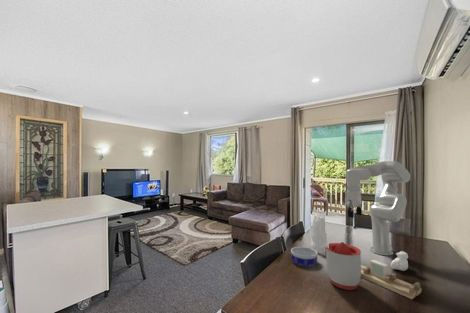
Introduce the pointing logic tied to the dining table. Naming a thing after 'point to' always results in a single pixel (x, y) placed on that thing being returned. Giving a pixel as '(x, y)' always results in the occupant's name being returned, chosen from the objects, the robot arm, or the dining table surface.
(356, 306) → the dining table surface
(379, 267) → the frame block
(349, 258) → the citrus juicer
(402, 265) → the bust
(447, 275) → the dining table surface
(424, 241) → the dining table surface
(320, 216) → the white crystal cluster
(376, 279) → the wooden rack
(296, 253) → the dog bowl
